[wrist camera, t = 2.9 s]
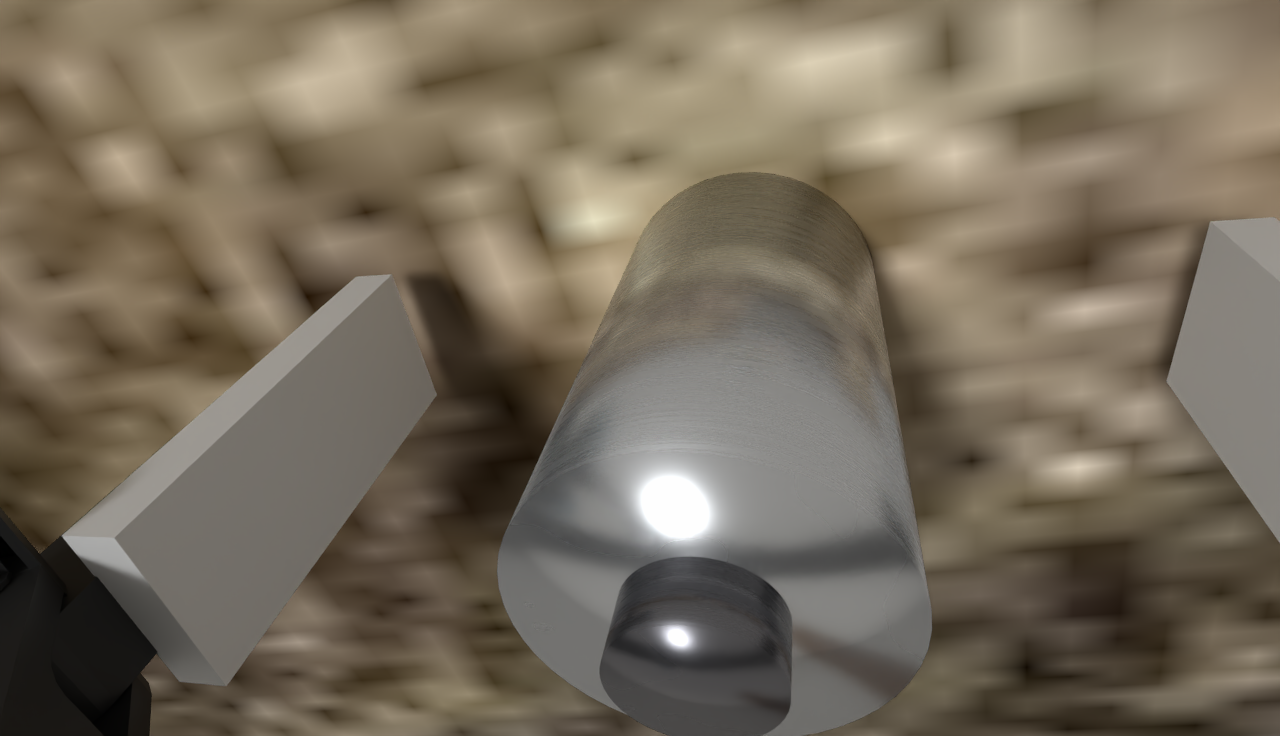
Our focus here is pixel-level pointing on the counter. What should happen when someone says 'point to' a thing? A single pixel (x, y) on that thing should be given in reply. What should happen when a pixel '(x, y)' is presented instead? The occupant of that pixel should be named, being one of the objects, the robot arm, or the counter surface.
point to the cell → (729, 481)
